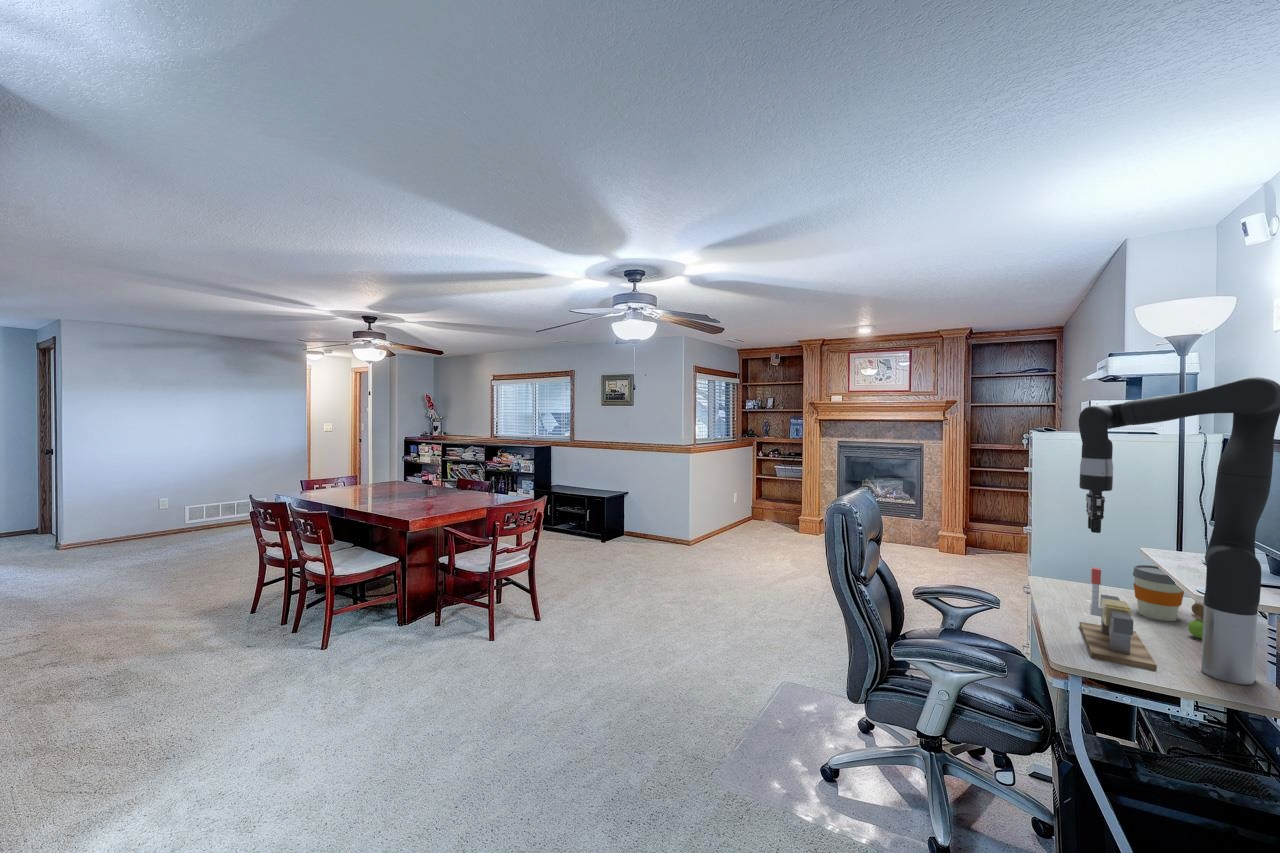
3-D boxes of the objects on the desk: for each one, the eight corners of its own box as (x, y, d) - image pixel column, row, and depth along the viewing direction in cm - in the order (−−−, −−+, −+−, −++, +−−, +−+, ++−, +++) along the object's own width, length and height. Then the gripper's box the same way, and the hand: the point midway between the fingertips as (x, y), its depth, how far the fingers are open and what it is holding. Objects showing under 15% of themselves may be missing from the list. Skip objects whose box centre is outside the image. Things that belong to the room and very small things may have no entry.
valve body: (1096, 626, 167) (1098, 590, 167) (1119, 630, 164) (1120, 593, 164) (1109, 653, 149) (1110, 613, 148) (1135, 658, 146) (1136, 617, 145)
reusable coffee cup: (1187, 626, 172) (1189, 578, 171) (1133, 616, 179) (1135, 571, 179) (1180, 614, 182) (1182, 569, 181) (1129, 606, 189) (1131, 562, 189)
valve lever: (1089, 612, 160) (1091, 567, 160) (1101, 614, 159) (1103, 568, 158) (1090, 614, 158) (1092, 569, 158) (1102, 616, 157) (1104, 570, 156)
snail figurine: (1210, 644, 158) (1212, 603, 158) (1183, 635, 164) (1185, 596, 164) (1223, 642, 160) (1225, 601, 159) (1195, 633, 166) (1197, 594, 166)
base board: (1079, 626, 171) (1079, 621, 171) (1135, 636, 164) (1135, 631, 164) (1091, 658, 149) (1091, 652, 149) (1156, 670, 142) (1156, 665, 142)
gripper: (1117, 477, 155) (1115, 537, 155) (1108, 472, 167) (1106, 527, 167) (1083, 475, 159) (1081, 533, 159) (1076, 470, 171) (1075, 525, 171)
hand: (1094, 530), depth 163 cm, fingers open, 5 cm apart
